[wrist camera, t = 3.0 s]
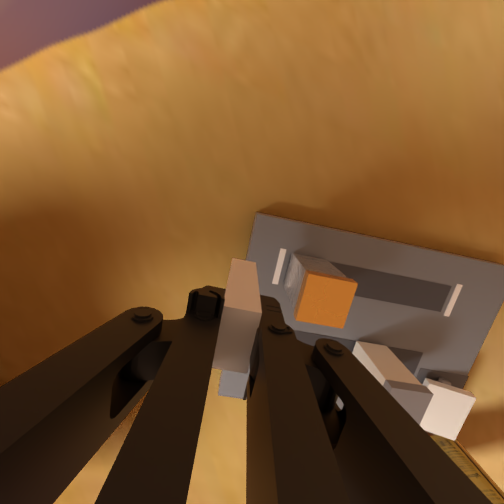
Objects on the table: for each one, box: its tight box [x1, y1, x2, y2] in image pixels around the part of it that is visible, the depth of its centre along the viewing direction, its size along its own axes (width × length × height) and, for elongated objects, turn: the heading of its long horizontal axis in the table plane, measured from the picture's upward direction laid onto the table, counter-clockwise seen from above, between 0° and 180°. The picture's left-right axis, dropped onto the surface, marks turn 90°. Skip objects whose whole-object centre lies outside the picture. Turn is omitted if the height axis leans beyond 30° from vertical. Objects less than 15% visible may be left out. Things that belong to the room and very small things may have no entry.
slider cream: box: [352, 341, 434, 425], centre depth 21 cm, size 3×3×6 cm
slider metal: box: [283, 253, 358, 329], centre depth 19 cm, size 3×3×6 cm
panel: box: [218, 212, 504, 410], centre depth 24 cm, size 24×18×2 cm
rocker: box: [420, 377, 476, 441], centre depth 25 cm, size 4×5×2 cm
